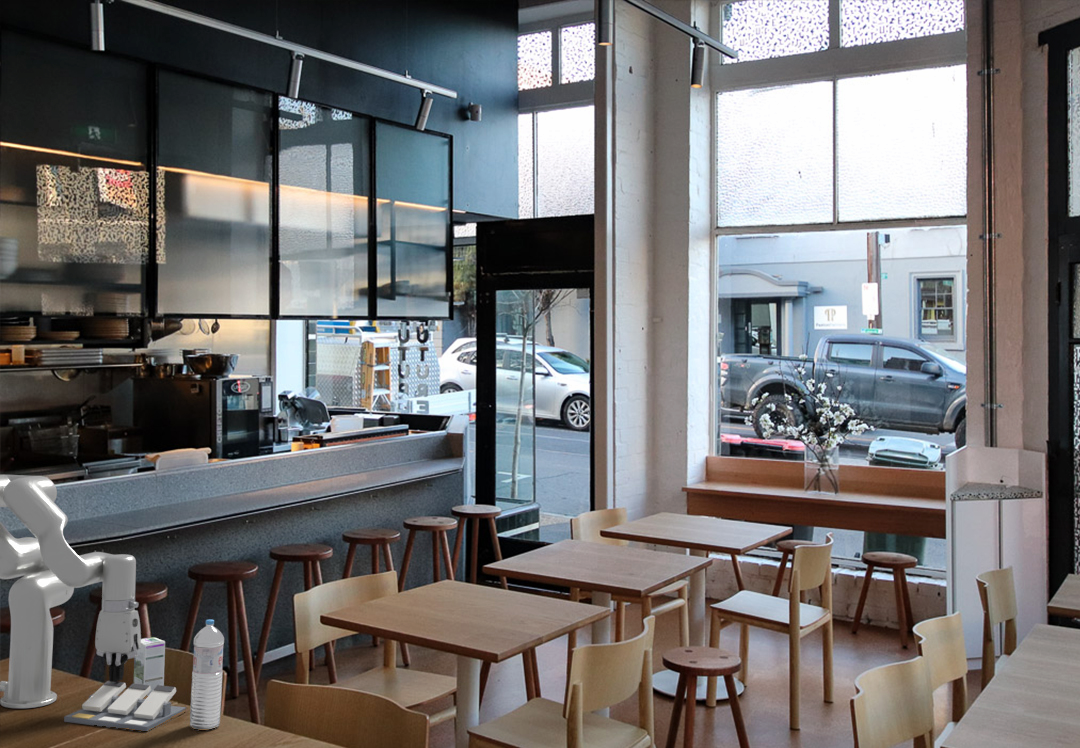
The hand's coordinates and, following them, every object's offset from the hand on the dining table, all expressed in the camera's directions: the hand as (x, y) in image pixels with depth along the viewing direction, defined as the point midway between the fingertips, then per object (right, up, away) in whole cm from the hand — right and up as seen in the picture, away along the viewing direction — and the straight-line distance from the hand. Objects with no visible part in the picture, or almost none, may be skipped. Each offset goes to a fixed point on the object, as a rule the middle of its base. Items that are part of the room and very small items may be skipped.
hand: (116, 680), depth 254 cm
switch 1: (-1, -3, -3) cm, 5 cm away
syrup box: (+4, -8, +11) cm, 14 cm away
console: (+5, -7, -6) cm, 10 cm away
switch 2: (+12, -3, -7) cm, 14 cm away
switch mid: (+5, -3, -5) cm, 8 cm away
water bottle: (+25, -8, -11) cm, 29 cm away
